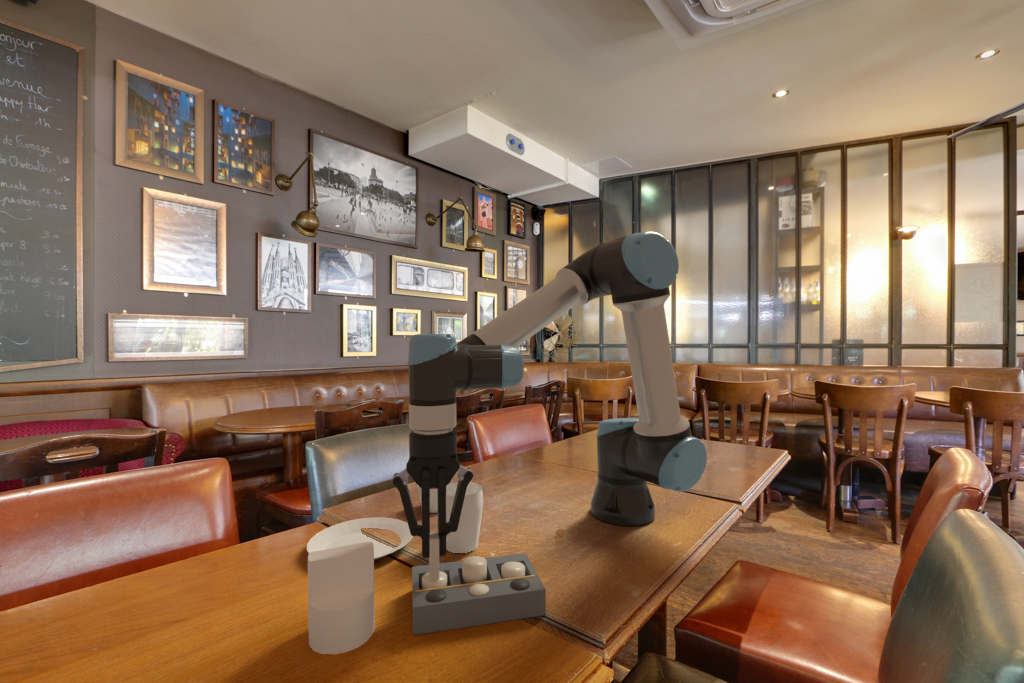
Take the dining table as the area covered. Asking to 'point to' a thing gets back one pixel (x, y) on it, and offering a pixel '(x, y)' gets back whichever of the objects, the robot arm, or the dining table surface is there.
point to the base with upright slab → (341, 598)
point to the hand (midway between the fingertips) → (434, 575)
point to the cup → (465, 518)
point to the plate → (360, 535)
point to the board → (476, 597)
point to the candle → (431, 499)
